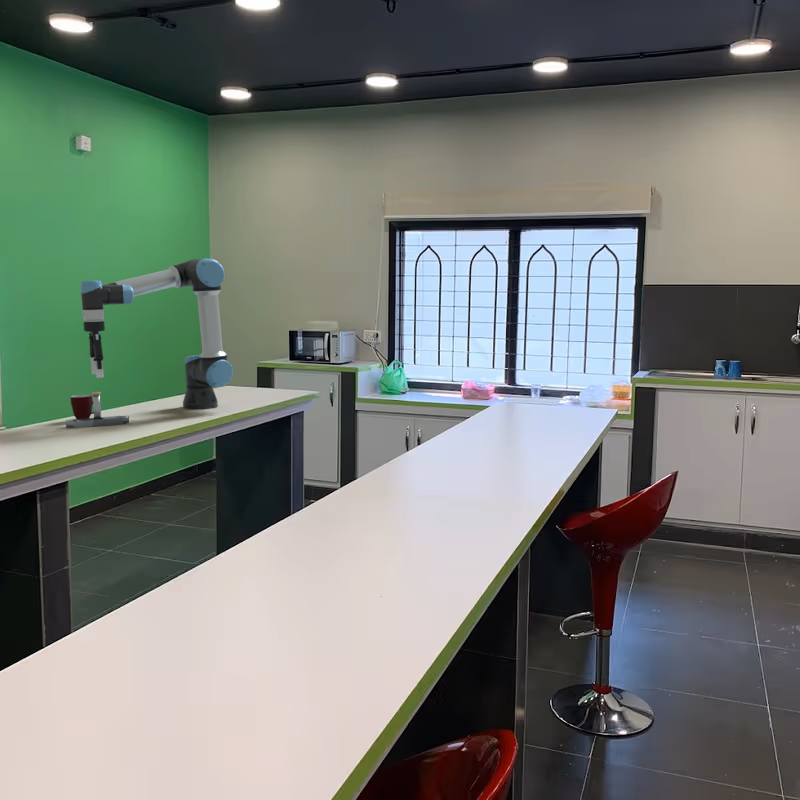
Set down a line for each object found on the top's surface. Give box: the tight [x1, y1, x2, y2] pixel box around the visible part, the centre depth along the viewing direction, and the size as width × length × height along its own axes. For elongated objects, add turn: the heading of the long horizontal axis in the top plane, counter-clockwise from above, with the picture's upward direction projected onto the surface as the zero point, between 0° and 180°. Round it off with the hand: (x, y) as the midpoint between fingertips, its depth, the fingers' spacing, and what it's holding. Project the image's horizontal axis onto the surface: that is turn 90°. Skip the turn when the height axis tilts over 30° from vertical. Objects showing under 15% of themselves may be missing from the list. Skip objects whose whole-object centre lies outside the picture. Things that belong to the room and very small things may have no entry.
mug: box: [70, 394, 94, 419], centre depth 317 cm, size 11×8×10 cm
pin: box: [90, 391, 102, 420], centre depth 306 cm, size 3×3×13 cm
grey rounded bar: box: [65, 415, 130, 429], centre depth 307 cm, size 23×5×2 cm, turn 117°
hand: (97, 375), depth 305 cm, fingers open, 13 cm apart
